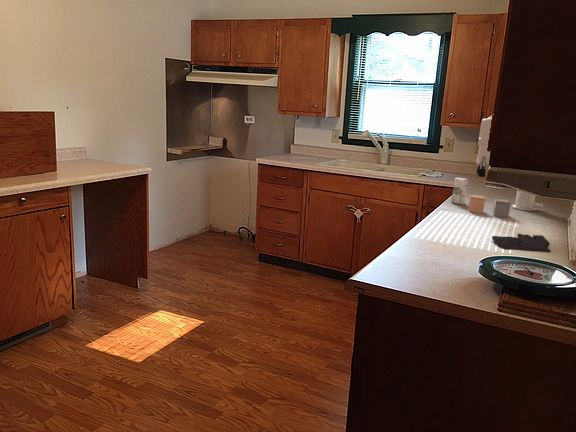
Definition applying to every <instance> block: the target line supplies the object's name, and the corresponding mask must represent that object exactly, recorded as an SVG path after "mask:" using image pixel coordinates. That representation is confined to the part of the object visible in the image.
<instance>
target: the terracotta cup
mask: <svg viewBox="0 0 576 432" xmlns="http://www.w3.org/2000/svg"><path fill="white" fill-rule="evenodd" d="M468 200H469V201H468V207H467V211H468V212H469V213H476V214H483V213H484V208H485V201H486V198H485V196H484V195H476V194H475V195H474V194H469V199H468Z"/></svg>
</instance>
